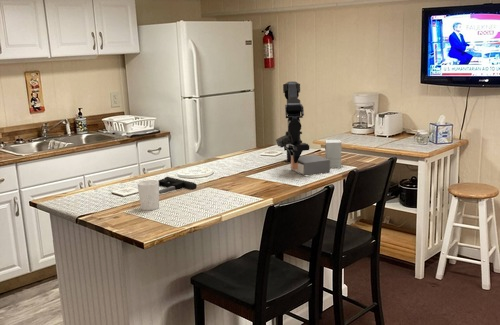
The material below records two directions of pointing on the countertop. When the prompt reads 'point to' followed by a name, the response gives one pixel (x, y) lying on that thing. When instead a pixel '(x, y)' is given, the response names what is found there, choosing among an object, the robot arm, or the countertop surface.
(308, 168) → the mailer sleeve
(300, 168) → the tray
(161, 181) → the black handgun
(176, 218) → the countertop surface
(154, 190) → the white cup
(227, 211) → the countertop surface
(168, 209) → the countertop surface
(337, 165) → the supplement box
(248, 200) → the countertop surface
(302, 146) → the robot arm
